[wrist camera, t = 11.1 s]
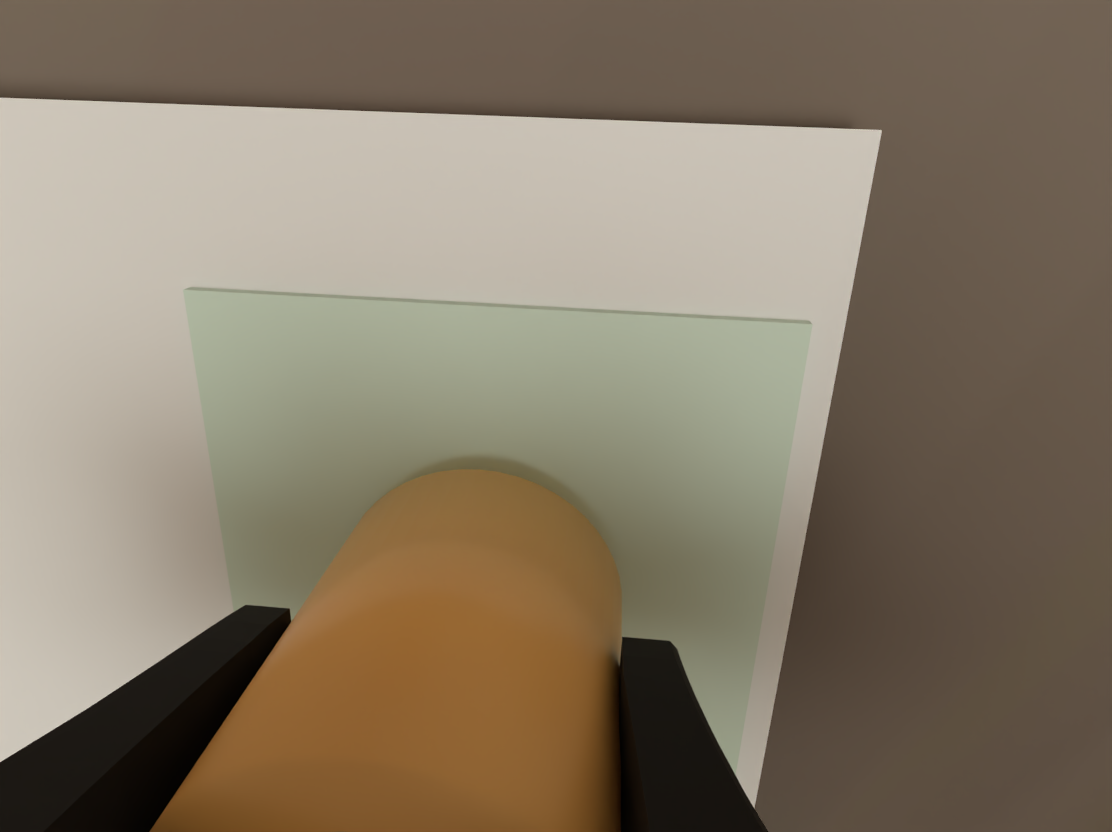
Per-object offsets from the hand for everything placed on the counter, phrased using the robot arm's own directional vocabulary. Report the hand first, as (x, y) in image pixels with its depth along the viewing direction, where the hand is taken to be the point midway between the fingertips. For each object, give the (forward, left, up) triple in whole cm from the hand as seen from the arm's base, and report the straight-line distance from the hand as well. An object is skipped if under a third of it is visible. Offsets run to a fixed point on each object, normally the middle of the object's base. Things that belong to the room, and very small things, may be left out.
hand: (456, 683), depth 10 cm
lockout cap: (0, 0, -2) cm, 2 cm away
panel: (-3, +3, -4) cm, 6 cm away
